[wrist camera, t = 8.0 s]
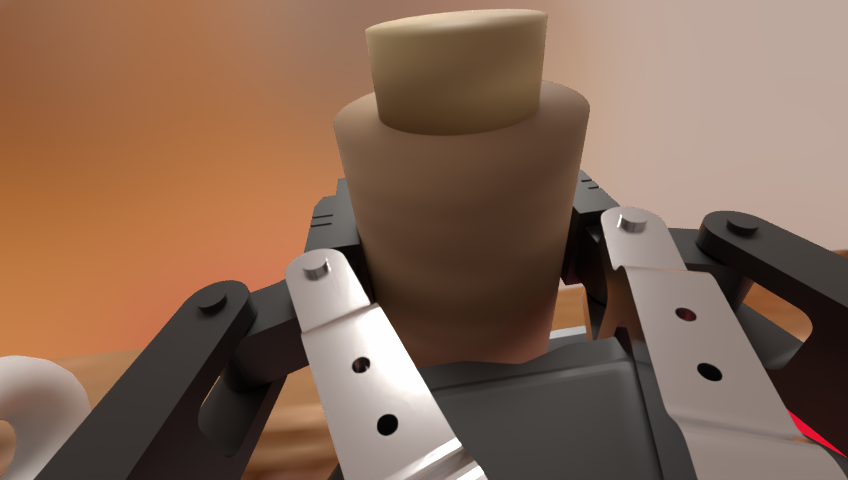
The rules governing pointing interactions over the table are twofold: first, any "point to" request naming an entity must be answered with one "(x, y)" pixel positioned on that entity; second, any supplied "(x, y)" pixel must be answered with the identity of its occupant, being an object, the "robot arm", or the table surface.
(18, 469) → the donut
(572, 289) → the table surface
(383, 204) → the pepper mill
